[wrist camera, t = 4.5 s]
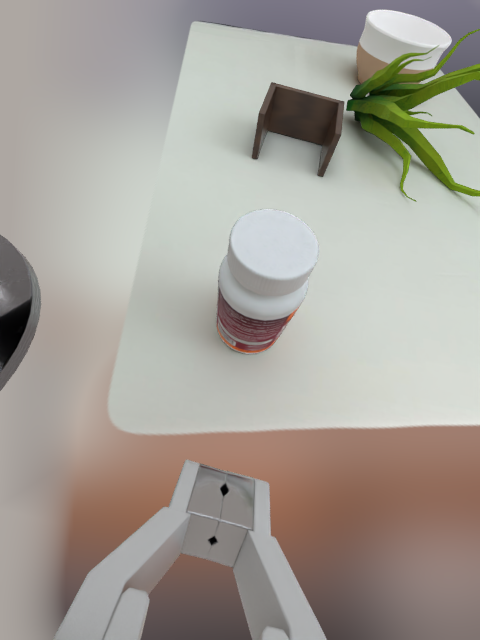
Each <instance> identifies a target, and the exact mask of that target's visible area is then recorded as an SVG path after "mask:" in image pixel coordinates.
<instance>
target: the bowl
mask: <svg viewBox="0 0 480 640" xmlns="http://www.w3.org/2000/svg"><path fill="white" fill-rule="evenodd" d="M450 44H451V37H450V36H449V35H448V33H447V32H445V31H444V30H443V29H441V28H440V27H438V26H437V25H435V24H433V23H431V22H429V21H427V20H424V19H422V18H419V17H416V16H413V15H410V14H406V13H402V12H397V11H391V10H374V11H371V12H369V13H368V15H367V17H366V24H365V29H364V31H363V33H362V36H361V38H360V41H359V45H358V48H357V60H356V61H357V68H358V76H357V78H358V80H359V82H360V83H361V84H362V83H363V82H364V81H366V80H368V79H369V78H371V77H372V76H373V75H374V74H375V73H376V71H378V70H382V69H384V68H385V67H386V66H388V65H389V64H390V63H391V62H392V61H394V60H395V59H396V58H398V57H400V56H401V55H403V54H407V53H427V52H429V51H430V50H432V49H433V48H435V47H437V46H438V45H439V46H438V47H437V48H435V49H434V50H432V51H431V52H429V53H428V54H426V55H420V56H414V57H410V58H408V59H406V60H404V61H402V62H401V64H403V63H405V62H407V61H409V60H412V59H421V60H424V61H413V62H412V63H410V64H408V65H406V66H405V67H404V68H403V69H402V70H401V71H400V72H399V73H398V74H417V73H421V72H424V71H428V70H432V69H433V67H434V66H435V65H436V63H437V61H438V60H439V58H440V56H441V54H442V53H443V52H444V50H445V49H446V48H447V47H449V45H450ZM429 57H431V58H429ZM427 58H429V59H427ZM425 59H426V60H425ZM401 64H400V65H401ZM420 82H421V81H420ZM420 82H418V83H399V84H419V83H420Z"/></svg>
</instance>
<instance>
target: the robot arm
mask: <svg viewBox="0 0 480 640" xmlns="http://www.w3.org/2000/svg"><path fill="white" fill-rule="evenodd" d="M199 465H200V466H199ZM180 553H182V554H187V555H190V556H195V557H199V558H203V559H207V560H210V561H213V562H217V563H220V564H223V565H226V566H229V567H233V572H234V576H235V580H236V583H237V586H238V590H239V594H240V597H241V601H242V604H243V608H244V611H245V615H246V619H247V622H248V625H249V629H250V633H251V636H252V640H327V639H326V637H325V635H324V633H323V631H322V629H321V627H320V625H319V623H318V621H317V619H316V617H315V615H314V613H313V611H312V609H311V607H310V605H309V603H308V601H307V599H306V597H305V595H304V593H303V591H302V589H301V587H300V585H299V583H298V581H297V579H296V577H295V575H294V573H293V571H292V569H291V567H290V565H289V563H288V561H287V559H286V558H285V555H284V553H283V552H282V550H281V547H280V545H279V544H278V541H277V540H276V538H275V537H273V536H271V523H270V489H269V483H268V482H265V481H262V480H258V479H254V478H252V477H248V476H244V475H240V474H236V473H233V472H229V471H227V472H226V471H223V470H220V469H217V468H213V467H210V466H207V465H204V464H199V463H197V462H193V461H190V460H186V461H185V463H184V465H183V468H182V471H181V473H180V477H179V479H178V482H177V485H176V488H175V490H174V493H173V496H172V499H171V502H170V504H169V507H163V508H162V509H161V510H159V511H158V512H157V513H156V514H155V515H154V516H152V517H151V518H150V519H149V520H148V521H147V522H146V523H145V524H143V525H142V526H141V527H140V528H139V529H138V530H137V531H135V533H133V534H132V535H131V536H130V537H129V538H128V539H126V540H125V541H124V542H123V543H122V544H121V545H120V546H118V547H117V548H116V549H115V550H114V551H113V552H112V553H110V554H109V555H108V556H107V557H106V558H105V559H104V560H103V561H101V562H100V563H99V564H98V565H97V566H96V567H95V568H93V569H92V570H91V571H90V572H89V573H88V575H87V577H86V579H85V580H84V582H83V584H82V586H81V588H80V590H79V592H78V594H77V595H76V597H75V599H74V601H73V603H72V605H71V607H70V608H69V610H68V612H67V614H66V616H65V618H64V620H63V622H62V624H61V625H60V627H59V629H58V631H57V633H56V635H55V637H54V639H53V640H140V639H141V635H142V631H143V626H144V622H145V618H146V614H147V609H148V605H149V598H148V594H149V593H150V592H151V591H152V589H153V588H154V587H155V586H156V584H157V583H158V582H159V581H160V579H161V578H162V577H163V576H164V574H165V573H166V572H167V571H168V569H169V568H170V567H171V566H172V564H173V563H174V562H175V560H176V559H177V558H178V557H179V556H180Z"/></svg>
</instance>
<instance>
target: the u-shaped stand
mask: <svg viewBox="0 0 480 640" xmlns="http://www.w3.org/2000/svg"><path fill="white" fill-rule="evenodd" d="M343 110H344V102H343V101H340V100H336V99H332V98H328V97H325V96H321V95H317V94H313V93H310V92H306V91H302V90H298V89H295V88H291V87H287V86H284V85H280V84H276V83H272V82H271V85H270V87H269V90H268V92H267V95H266V97H265V99H264V102H263V104H262V107H261V109H260V112H259V116H258V122H257V129H256V135H255V142H254V148H253V155H252V158H255V159H258V156H259V153H260V150H261V147H262V144H263V142H264V139H265V136H266V133H267V130H268V131H271V132H275V133H279V134H283V135H286V136H290V137H294V138H298V139H301V140H305V141H309V142H312V143H316V144H320V145H322V151H321V157H320V164H319V170H318V176H322V177H323V175H324V173H325V171H326V169H327V166H328V164H329V162H330V159H331V157H332V155H333V153H334V150H335V148H336V146H337V143H338V141H339V139H340V137H341V131H342V121H343Z"/></svg>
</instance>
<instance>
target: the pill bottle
mask: <svg viewBox="0 0 480 640" xmlns="http://www.w3.org/2000/svg"><path fill="white" fill-rule="evenodd" d="M318 256H319V244H318V240H317V238H316V236H315V234H314V232H313V231H312V229H311V228H310V227H309V226H308V225H307V224H306V223H305V222H303V221H302V220H301V219H299V218H297V217H296V216H294V215H292V214H289V213H287V212H284V211H280V210H274V209H260V210H256V211H252V212H250V213H247V214H245V215H244V216H242V217H241V218H240V219H239V220H237V222H236V223H235V224H234V226H233V228H232V230H231V233H230V239H229V247H228V253H227V255H226V256H225V257H224V259H223V261H222V263H221V266H220V270H219V279H218V302H217V321H216V323H217V330H218V333H219V336H220V337H221V339H222V340H223V341H224V343H225V344H226V345H227V346H229V347H230V348H232V349H233V350H235V351H238V352H241V353H245V354H256V353H260V352H263V351H265V350H267V349H268V348H270V347H271V346H272V345H273V344H274V343H275V341H276V340H277V339H278V337H279V336H280V334H281V333H282V332H283V330H284V329H285V327H286V326H287V324H288V323H289V321H290V320H291V318H292V317H293V315H294V314H295V312H296V311H297V309H298V308H299V306H300V305H301V303H302V301H303V300H304V298H305V296H306V293H307V289H308V277H309V276H310V273H311V271H312V270H313V268H314V266H315V264H316V262H317V260H318Z"/></svg>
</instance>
